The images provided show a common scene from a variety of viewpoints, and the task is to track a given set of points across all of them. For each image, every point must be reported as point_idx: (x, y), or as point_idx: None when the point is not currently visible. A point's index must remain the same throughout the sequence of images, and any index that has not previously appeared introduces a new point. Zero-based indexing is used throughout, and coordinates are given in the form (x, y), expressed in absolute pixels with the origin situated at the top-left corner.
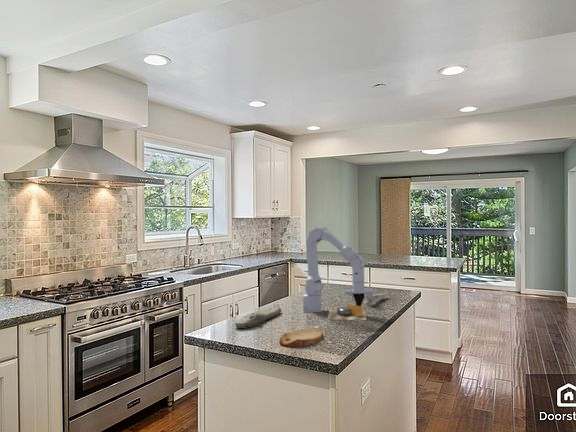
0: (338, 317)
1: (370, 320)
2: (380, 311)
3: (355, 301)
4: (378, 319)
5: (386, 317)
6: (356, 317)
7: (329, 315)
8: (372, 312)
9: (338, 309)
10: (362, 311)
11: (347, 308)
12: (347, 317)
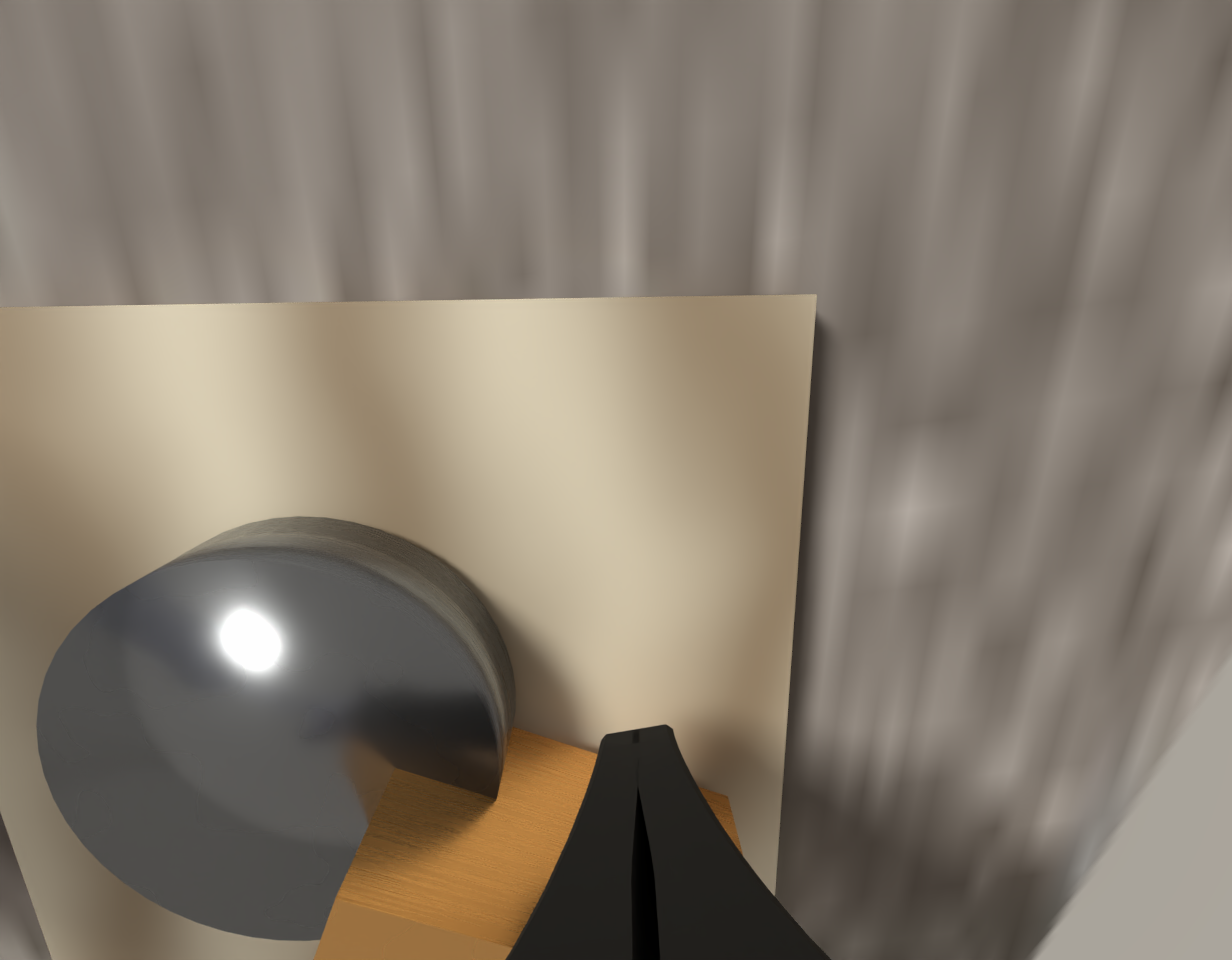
0: None
1: (837, 861)
2: (1219, 88)
3: (537, 922)
4: (991, 787)
5: (1182, 640)
6: None
7: (29, 827)
8: (981, 237)
9: (108, 832)
10: None
11: (327, 703)
12: None
